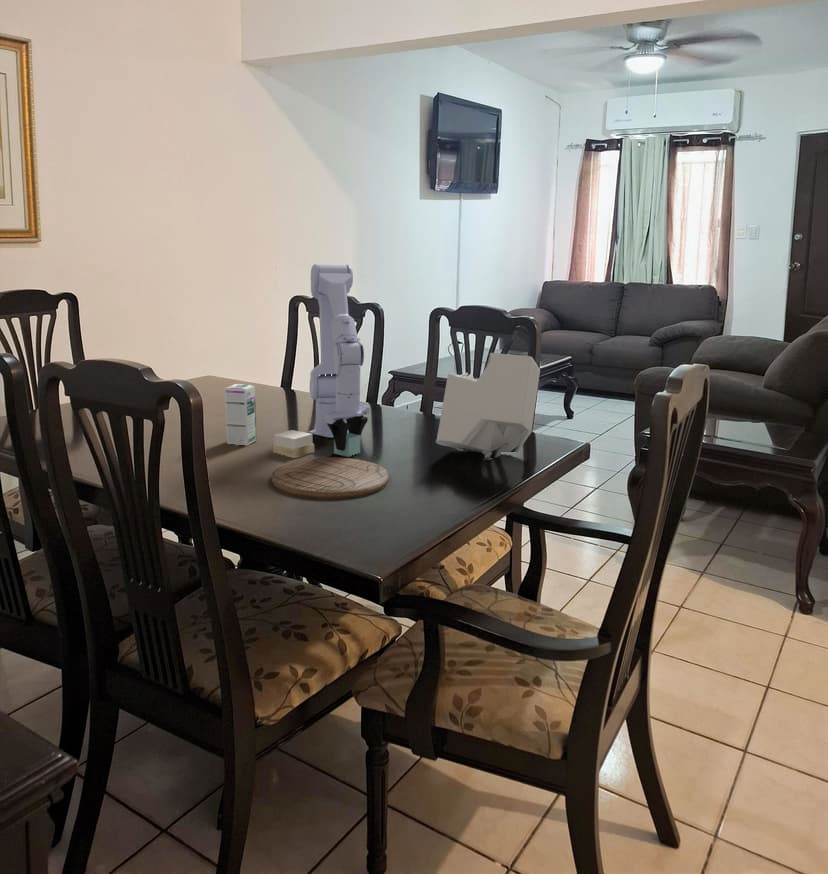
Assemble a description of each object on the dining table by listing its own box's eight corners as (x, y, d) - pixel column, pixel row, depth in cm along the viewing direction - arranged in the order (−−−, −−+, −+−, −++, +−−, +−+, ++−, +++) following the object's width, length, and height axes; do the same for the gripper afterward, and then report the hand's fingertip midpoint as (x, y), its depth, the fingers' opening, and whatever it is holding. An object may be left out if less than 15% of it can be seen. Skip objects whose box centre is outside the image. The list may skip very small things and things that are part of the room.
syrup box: (247, 446, 193) (246, 388, 189) (225, 444, 194) (224, 386, 191) (257, 440, 198) (256, 384, 195) (235, 438, 200) (234, 382, 196)
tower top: (292, 439, 193) (292, 429, 192) (312, 444, 190) (312, 434, 189) (273, 444, 188) (273, 434, 187) (294, 449, 184) (294, 439, 184)
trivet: (319, 459, 186) (319, 451, 185) (409, 478, 173) (410, 470, 173) (246, 485, 165) (246, 476, 164) (343, 509, 152) (343, 499, 152)
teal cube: (345, 449, 193) (346, 432, 192) (360, 453, 191) (360, 435, 190) (334, 453, 190) (334, 435, 189) (348, 456, 187) (348, 438, 186)
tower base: (293, 449, 194) (293, 439, 193) (314, 454, 190) (314, 444, 190) (273, 454, 188) (273, 444, 188) (294, 460, 185) (294, 449, 184)
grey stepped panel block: (430, 453, 183) (445, 348, 185) (446, 459, 198) (460, 362, 200) (516, 464, 177) (531, 356, 179) (526, 469, 192) (540, 370, 194)
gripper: (341, 399, 178) (340, 456, 182) (379, 390, 190) (378, 444, 193) (318, 395, 182) (317, 451, 186) (357, 386, 194) (356, 439, 197)
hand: (347, 447), depth 190 cm, fingers closed on teal cube, 4 cm apart
